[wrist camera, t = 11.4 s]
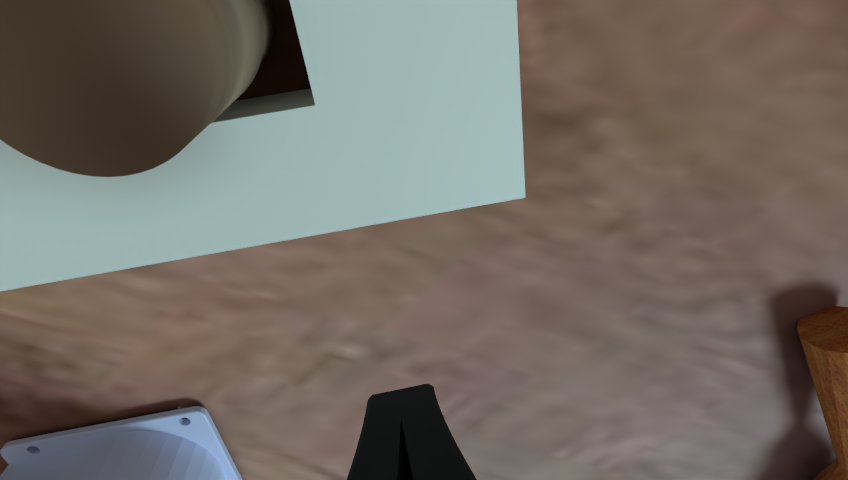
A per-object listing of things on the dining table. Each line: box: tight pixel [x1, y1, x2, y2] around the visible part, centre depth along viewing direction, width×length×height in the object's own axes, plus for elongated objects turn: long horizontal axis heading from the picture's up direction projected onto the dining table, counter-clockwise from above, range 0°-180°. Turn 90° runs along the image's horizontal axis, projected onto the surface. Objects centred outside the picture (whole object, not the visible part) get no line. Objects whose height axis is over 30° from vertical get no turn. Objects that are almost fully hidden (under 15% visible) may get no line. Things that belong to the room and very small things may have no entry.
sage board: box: [0, 0, 525, 291], centre depth 14 cm, size 18×14×3 cm
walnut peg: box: [0, 0, 276, 177], centre depth 12 cm, size 4×4×9 cm
